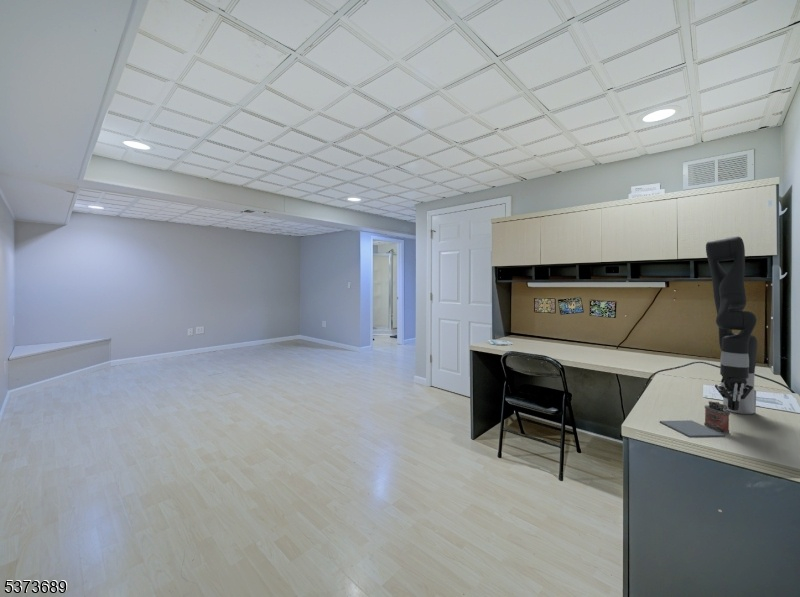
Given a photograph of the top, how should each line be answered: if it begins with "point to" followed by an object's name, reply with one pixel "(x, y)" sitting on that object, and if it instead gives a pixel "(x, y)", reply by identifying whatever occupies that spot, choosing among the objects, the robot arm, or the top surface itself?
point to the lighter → (717, 417)
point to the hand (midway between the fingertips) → (733, 409)
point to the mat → (692, 429)
